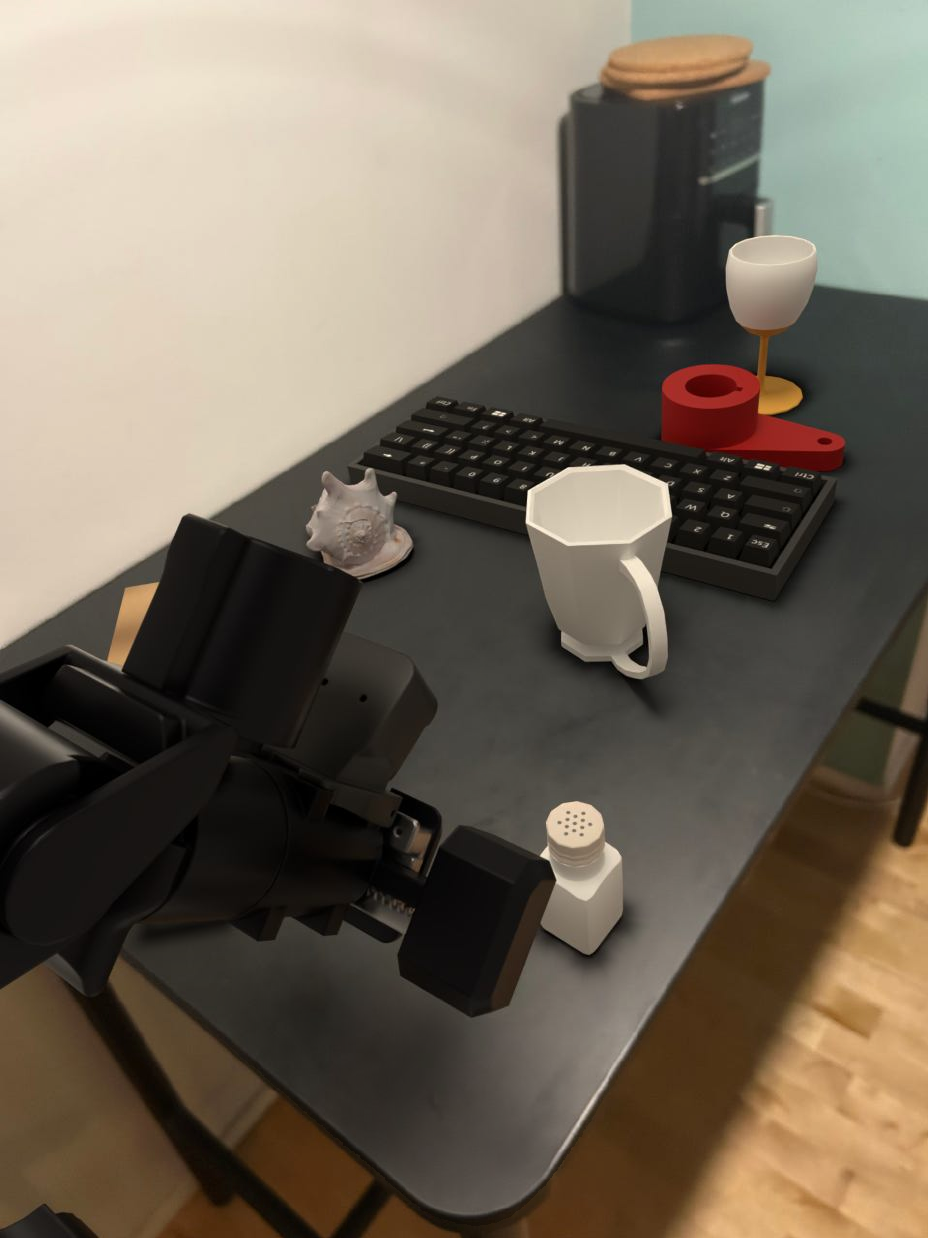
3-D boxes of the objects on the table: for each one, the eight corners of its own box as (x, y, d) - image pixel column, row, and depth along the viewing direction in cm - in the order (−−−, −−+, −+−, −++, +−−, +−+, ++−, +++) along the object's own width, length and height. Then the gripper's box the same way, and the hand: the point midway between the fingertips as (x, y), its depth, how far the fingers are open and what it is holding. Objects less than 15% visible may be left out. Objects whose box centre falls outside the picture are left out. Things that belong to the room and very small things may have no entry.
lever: (648, 460, 99) (649, 401, 94) (678, 417, 105) (679, 359, 100) (831, 489, 91) (840, 426, 87) (851, 440, 97) (861, 379, 93)
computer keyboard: (833, 502, 89) (839, 466, 87) (774, 601, 79) (778, 563, 77) (436, 418, 111) (431, 387, 108) (352, 487, 101) (344, 455, 99)
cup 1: (635, 577, 84) (634, 448, 76) (727, 696, 72) (739, 557, 64) (513, 613, 82) (500, 484, 74) (588, 741, 70) (581, 603, 62)
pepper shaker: (573, 882, 61) (565, 784, 55) (627, 914, 59) (625, 815, 53) (535, 928, 59) (523, 831, 53) (590, 962, 57) (584, 866, 51)
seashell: (337, 600, 87) (315, 514, 81) (278, 545, 95) (253, 462, 89) (430, 553, 90) (415, 467, 84) (365, 503, 98) (347, 422, 92)
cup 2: (700, 392, 108) (707, 248, 98) (766, 370, 110) (779, 227, 100) (751, 424, 102) (764, 274, 91) (820, 399, 104) (840, 250, 94)
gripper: (528, 712, 30) (656, 766, 44) (138, 560, 39) (344, 643, 53) (396, 1052, 29) (569, 999, 43) (30, 816, 39) (267, 834, 52)
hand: (426, 850), depth 48 cm, fingers closed
